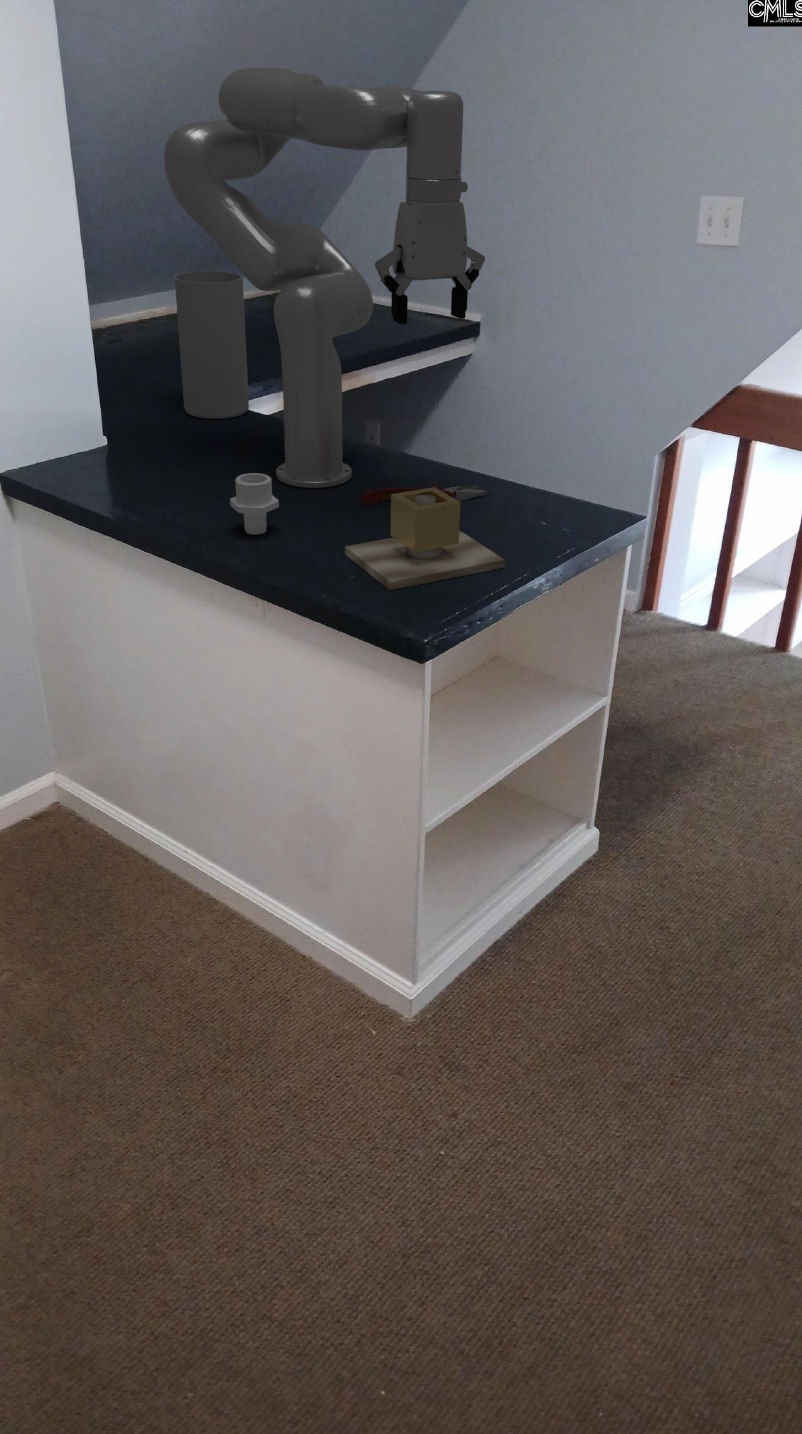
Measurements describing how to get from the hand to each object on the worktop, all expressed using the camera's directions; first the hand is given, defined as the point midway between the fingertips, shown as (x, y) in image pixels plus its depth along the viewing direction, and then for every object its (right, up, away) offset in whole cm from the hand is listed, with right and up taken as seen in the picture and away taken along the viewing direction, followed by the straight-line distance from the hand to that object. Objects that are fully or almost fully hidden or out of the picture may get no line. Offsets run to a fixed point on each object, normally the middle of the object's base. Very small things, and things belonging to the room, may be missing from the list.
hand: (429, 320), depth 170 cm
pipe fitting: (-26, -30, +4) cm, 40 cm away
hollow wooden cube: (-1, -33, -7) cm, 34 cm away
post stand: (-1, -36, -6) cm, 36 cm away
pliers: (0, -26, +14) cm, 29 cm away
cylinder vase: (-40, +2, +59) cm, 71 cm away
